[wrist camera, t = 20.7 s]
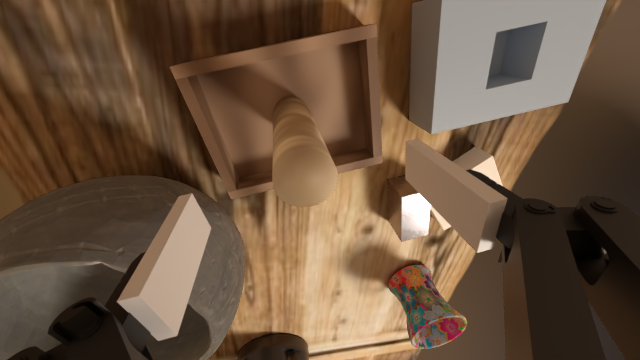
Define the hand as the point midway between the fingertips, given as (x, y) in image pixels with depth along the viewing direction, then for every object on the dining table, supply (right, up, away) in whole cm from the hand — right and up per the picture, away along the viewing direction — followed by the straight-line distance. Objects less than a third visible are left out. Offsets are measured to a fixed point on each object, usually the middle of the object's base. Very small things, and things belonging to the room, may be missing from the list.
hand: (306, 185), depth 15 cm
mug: (+17, -20, +33) cm, 42 cm away
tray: (-2, +8, +12) cm, 15 cm away
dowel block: (+19, +15, +12) cm, 27 cm away
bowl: (-19, -5, +17) cm, 26 cm away
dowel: (-2, +7, +12) cm, 14 cm away
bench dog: (+13, -2, +21) cm, 25 cm away
